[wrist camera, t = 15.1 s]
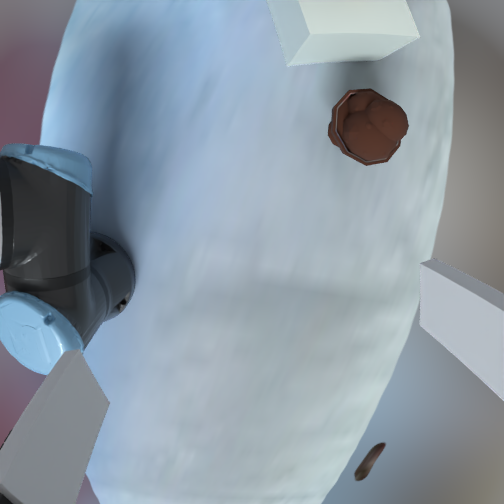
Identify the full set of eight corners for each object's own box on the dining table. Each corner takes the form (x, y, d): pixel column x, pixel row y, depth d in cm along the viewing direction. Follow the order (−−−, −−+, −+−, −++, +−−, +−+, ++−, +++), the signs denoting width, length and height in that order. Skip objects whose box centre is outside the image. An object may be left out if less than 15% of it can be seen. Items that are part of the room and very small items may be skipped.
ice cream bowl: (324, 89, 44) (364, 63, 30) (380, 121, 46) (433, 110, 32) (301, 146, 46) (335, 137, 32) (360, 175, 48) (409, 180, 34)
